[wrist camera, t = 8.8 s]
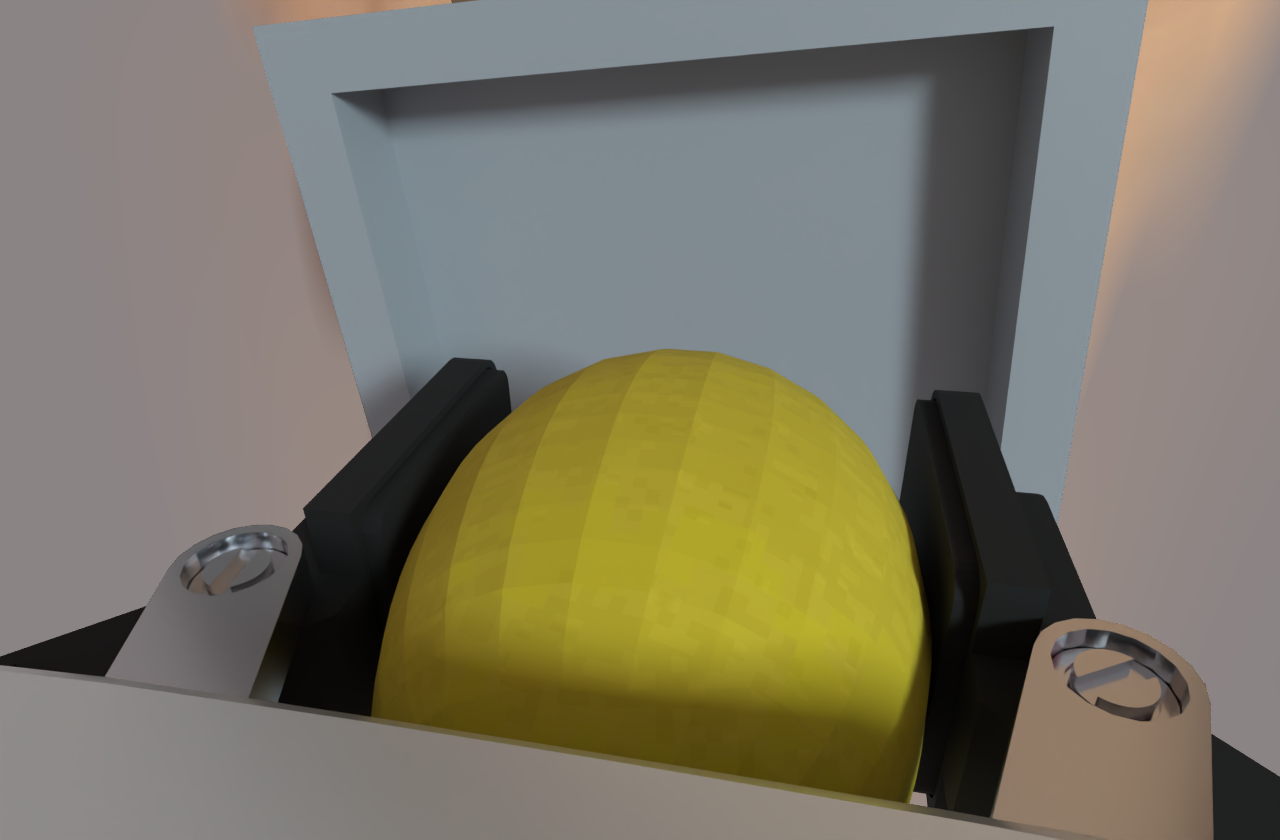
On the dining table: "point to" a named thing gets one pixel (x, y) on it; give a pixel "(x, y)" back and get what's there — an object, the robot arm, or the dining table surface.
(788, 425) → the lemon
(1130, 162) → the dining table surface
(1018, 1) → the tower top block
